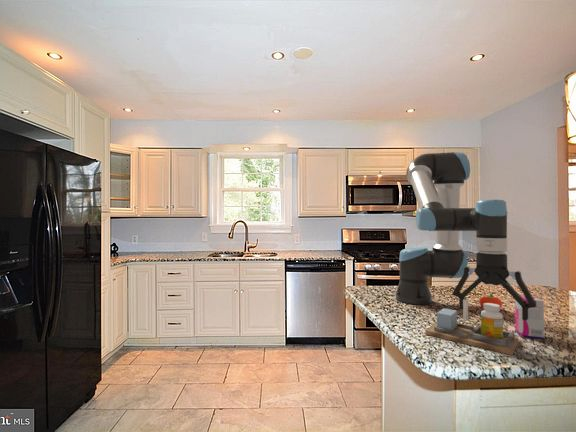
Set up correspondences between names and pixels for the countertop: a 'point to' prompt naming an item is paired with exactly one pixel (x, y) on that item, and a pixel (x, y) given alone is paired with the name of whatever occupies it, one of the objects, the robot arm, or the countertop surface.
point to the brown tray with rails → (476, 337)
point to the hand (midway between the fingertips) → (491, 325)
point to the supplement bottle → (492, 321)
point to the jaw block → (447, 319)
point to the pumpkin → (490, 300)
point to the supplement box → (531, 320)
